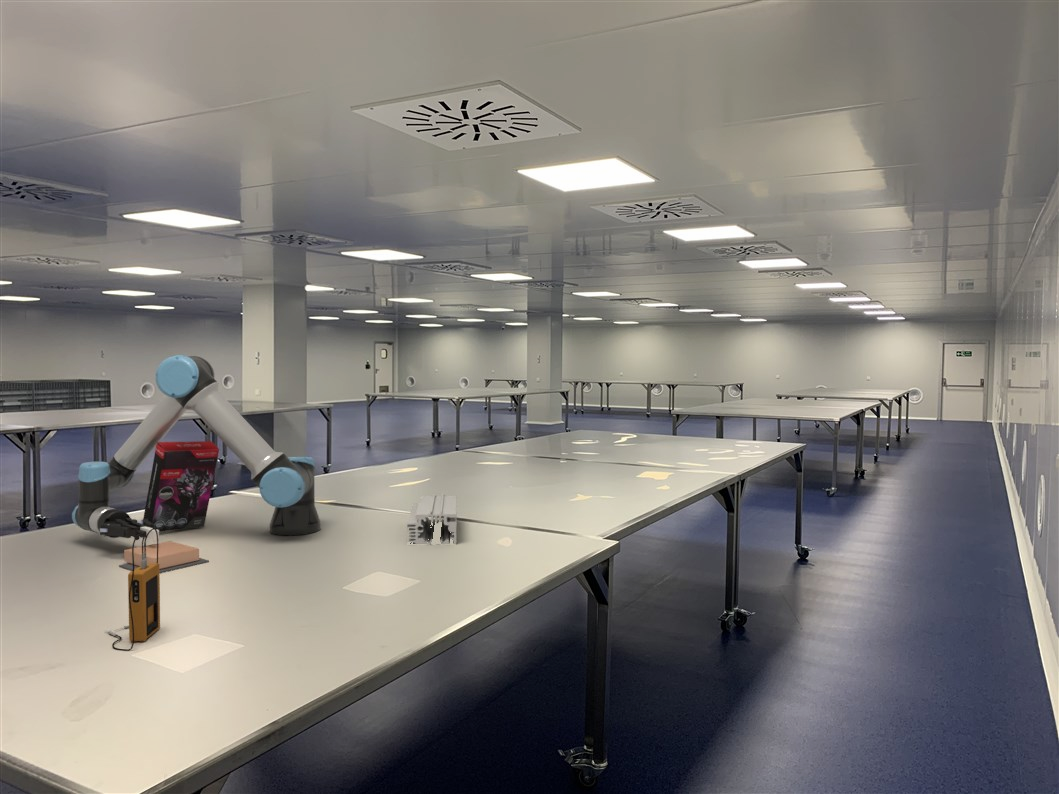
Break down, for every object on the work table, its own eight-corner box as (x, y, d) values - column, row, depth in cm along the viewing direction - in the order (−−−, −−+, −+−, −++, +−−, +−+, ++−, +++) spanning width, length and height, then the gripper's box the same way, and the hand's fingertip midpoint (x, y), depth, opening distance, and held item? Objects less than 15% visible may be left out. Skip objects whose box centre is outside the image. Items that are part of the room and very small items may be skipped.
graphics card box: (148, 534, 217) (165, 449, 211) (139, 524, 221) (155, 440, 216) (204, 528, 230) (222, 448, 225) (194, 518, 234) (211, 440, 229)
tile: (124, 549, 187) (153, 558, 179) (169, 540, 197) (199, 548, 189) (124, 562, 187) (153, 571, 179) (169, 553, 197) (199, 561, 189)
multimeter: (116, 623, 145) (114, 523, 144) (168, 622, 145) (167, 523, 145) (76, 652, 130) (74, 541, 129) (135, 650, 131) (133, 540, 130)
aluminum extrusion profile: (406, 546, 209) (406, 511, 209) (413, 523, 240) (413, 493, 239) (456, 545, 211) (456, 511, 210) (456, 523, 241) (456, 493, 241)
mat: (118, 566, 185) (118, 565, 185) (179, 553, 198) (179, 552, 198) (147, 576, 177) (147, 574, 177) (209, 561, 190) (209, 560, 190)
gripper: (134, 531, 208) (180, 545, 194) (85, 539, 197) (130, 554, 184) (134, 505, 207) (180, 517, 194) (85, 512, 197) (130, 525, 183)
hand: (156, 535), depth 189 cm, fingers closed
